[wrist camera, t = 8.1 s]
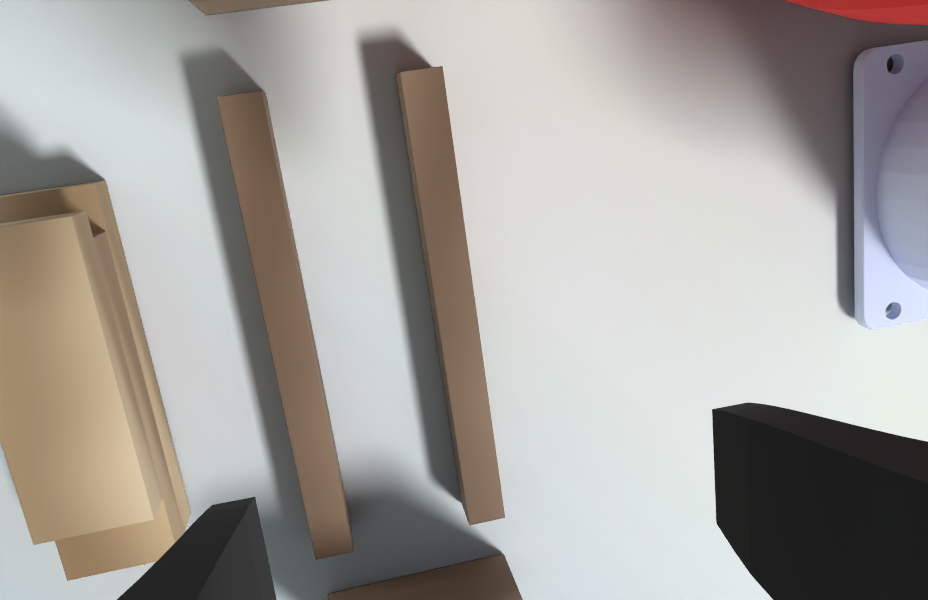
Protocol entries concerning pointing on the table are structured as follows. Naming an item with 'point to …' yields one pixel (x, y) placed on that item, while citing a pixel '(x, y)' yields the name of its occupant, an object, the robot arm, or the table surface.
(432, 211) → the walnut rack
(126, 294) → the offcut stack
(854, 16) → the ceramic cup
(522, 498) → the table surface
